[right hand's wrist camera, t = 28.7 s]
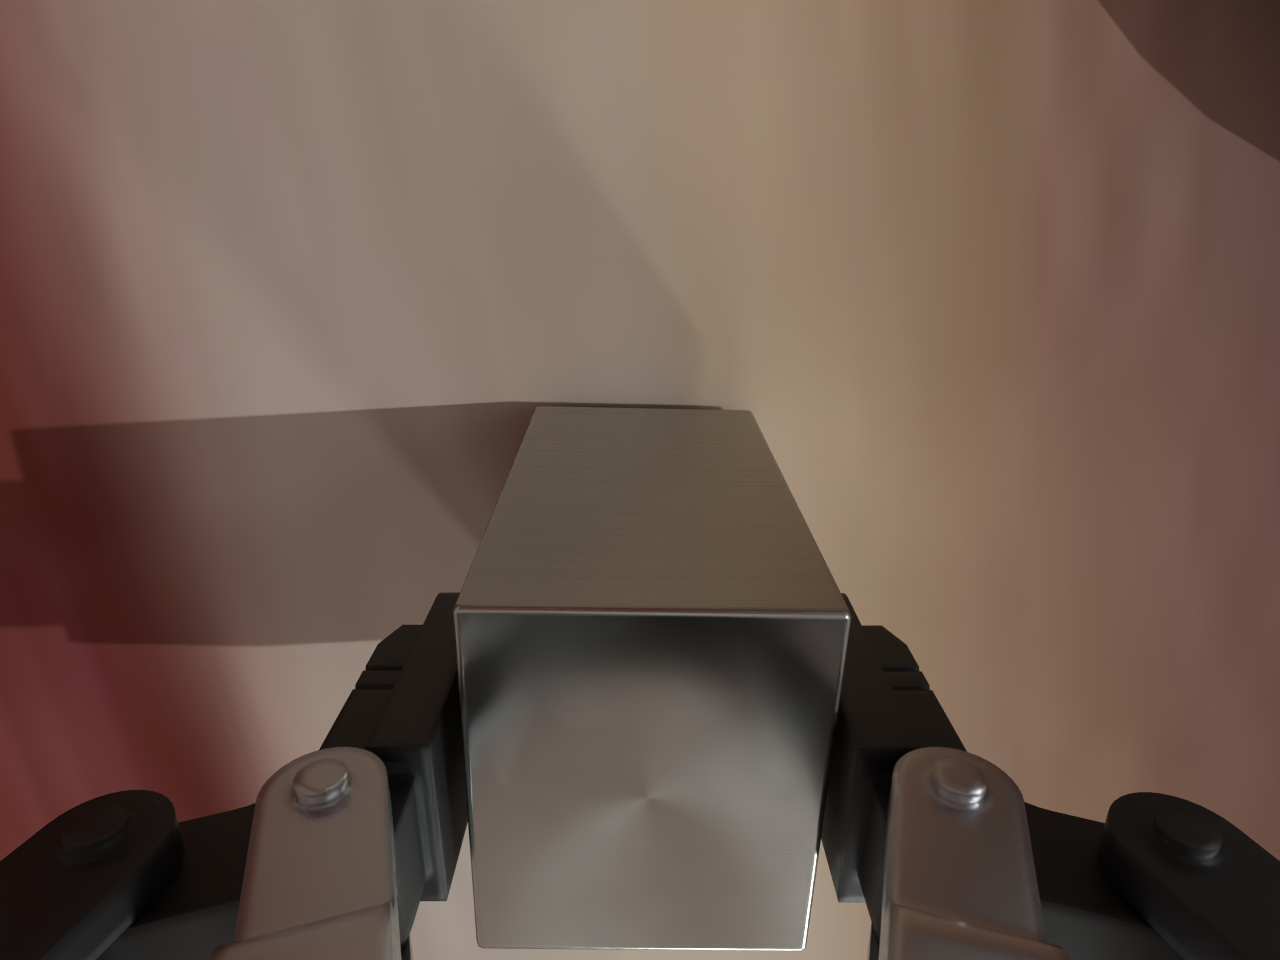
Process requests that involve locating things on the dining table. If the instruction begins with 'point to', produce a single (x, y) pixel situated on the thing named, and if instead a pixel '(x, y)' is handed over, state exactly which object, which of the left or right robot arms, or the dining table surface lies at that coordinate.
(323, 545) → the dining table surface
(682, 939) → the block
